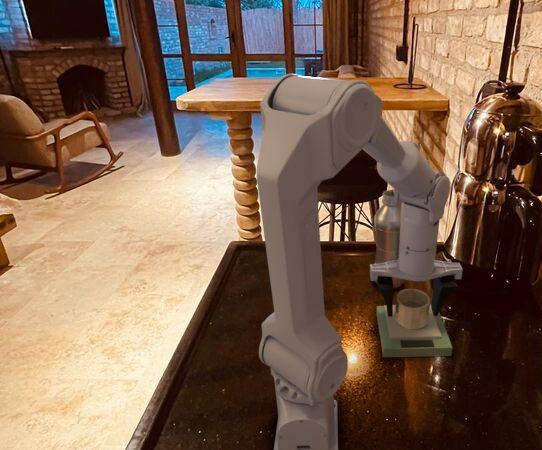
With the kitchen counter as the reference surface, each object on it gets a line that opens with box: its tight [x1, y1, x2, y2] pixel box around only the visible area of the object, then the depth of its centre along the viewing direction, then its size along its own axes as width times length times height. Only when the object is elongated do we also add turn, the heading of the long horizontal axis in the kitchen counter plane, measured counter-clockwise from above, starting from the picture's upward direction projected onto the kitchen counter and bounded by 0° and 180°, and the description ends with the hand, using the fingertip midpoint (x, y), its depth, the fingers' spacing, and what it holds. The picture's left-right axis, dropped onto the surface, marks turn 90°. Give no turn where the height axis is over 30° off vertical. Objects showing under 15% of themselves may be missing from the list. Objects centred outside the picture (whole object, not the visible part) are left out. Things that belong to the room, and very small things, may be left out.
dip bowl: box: [395, 288, 431, 329], centre depth 69 cm, size 6×6×4 cm
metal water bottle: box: [373, 189, 406, 289], centre depth 79 cm, size 6×7×20 cm
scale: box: [375, 304, 453, 358], centre depth 70 cm, size 11×11×2 cm
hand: (411, 312), depth 69 cm, fingers open, 7 cm apart
